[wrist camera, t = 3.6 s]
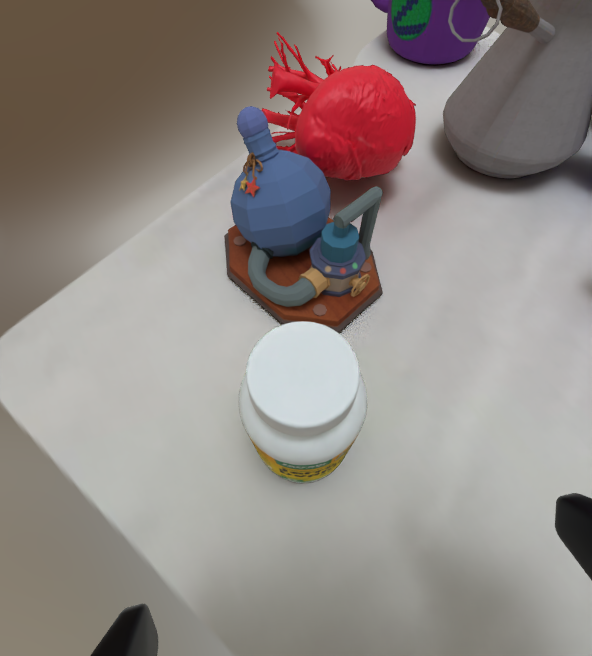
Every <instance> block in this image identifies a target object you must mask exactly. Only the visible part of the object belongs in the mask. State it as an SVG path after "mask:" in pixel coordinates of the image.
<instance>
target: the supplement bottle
mask: <svg viewBox="0 0 592 656" xmlns="http://www.w3.org/2000/svg"><path fill="white" fill-rule="evenodd" d="M239 411H240V416H241V420H242V423H243V425H244V427H245V430H246V432H247V433H248V435H249V437H250V439H251V441H252V442H253V444H254V446H255V448H256V450H257V452H258V454H259V455H260V457H261V459H262V460H263V462H264V463H265V464H266V466H267V467H268V468H269V469H270V470H271V471H272V472H274V473H275V474H277V475H278V476H280V477H282V478H284V479H286V480H289V481H292V482H297V483H309V482H314V481H317V480H320V479H322V478H324V477H326V476H328V475H329V474H330V473H332V472H333V471H334V470H335V469H336V468H337V467H338V466H339V464H340V463H341V462H342V460H343V459H344V457H345V455H346V454H347V452H348V450H349V449H350V447H351V446H352V444H353V443H354V441H355V439H356V437H357V435H358V434H359V432H360V430H361V428H362V426H363V423H364V420H365V416H366V411H367V392H366V387H365V383H364V380H363V377H362V375H361V373H360V368H359V362H358V359H357V356H356V354H355V352H354V350H353V349H352V347H351V345H350V344H349V343H348V342H347V340H346V339H345V338H344V337H343V336H341V335H340V334H339V333H338V332H336V331H335V330H333V329H331V328H329V327H327V326H325V325H322V324H318V323H314V322H305V321H301V322H292V323H287V324H284V325H281V326H278V327H276V328H274V329H272V330H271V331H269V332H268V333H267V334H265V335H264V336H263V337H262V338H261V339H260V340H259V341H258V342H257V344H256V345H255V347H254V348H253V350H252V352H251V354H250V356H249V359H248V362H247V367H246V373H245V375H244V377H243V380H242V383H241V387H240V392H239Z"/></svg>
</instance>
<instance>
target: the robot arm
mask: <svg viewBox="0 0 592 656" xmlns="http://www.w3.org/2000/svg"><path fill="white" fill-rule="evenodd" d="M555 528H556V531H557V534H558V535H559V537H560V539H561V540H562V541H563V543H564V544H565V545H566V547H567V548H568V549H569V551H570V552H571V553H572V555H573V556H574V557H575V559H576V560H577V561H578V563H579V564H580V565H581V567H582V568H583V569H584V571H585V572H586V573H587V575H588V576H589V577H590V579H591V580H592V499H591V498H588V497H586V496H583V495H581V494H577V493H572V494H568V495H564V496H560V497H559V498H558V499H557V501H556V515H555ZM157 653H158V634H157V630H156V627H155V624H154V622H153V619H152V616H151V613H150V611H149V608H148V606H147V605H146V604H139V605H135V606H131V607H128V608H126V609H124V610H123V611H122V612H121V613H120V615H119V616H118V618H117V619H116V621H115V622H114V623H113V625H112V626H111V627H110V629H109V630H108V632H107V633H106V635H105V636H104V637H103V639H102V640H101V642H100V643H99V644H98V646H97V647H96V649H95V650H94V651H93V653H92V654H91V656H157Z"/></svg>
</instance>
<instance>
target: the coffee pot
mask: <svg viewBox="0 0 592 656" xmlns="http://www.w3.org/2000/svg"><path fill="white" fill-rule="evenodd" d="M459 1H460V0H456V1H455V2H454V3H453V5H452V6H451V9H450V14H449V19H448V23H449V25H450V28H451V31H452V33H453V34H454V35H455V36H456V37H457V38H458V39H459V40H460V41H462V42H477V41H479V40H481V39H484V38H486V37H488V36H489V35H490V34H491V33H492V32H493V30H494V29H495V28H496V27H497V25H498V24H499V20H501V23H502V24H503V25H504V26H506V27H507V28H506V29H505V30H504V32H503V33H502V34H501V35H500V36H499V38H498V39H497V40H496V41H495V42H494V44H493V45H492V46H491V47H490V49H489V50H488V51H487V52H486V53H485V55H484V56H483V57H482V58H481V60H480V61H479V62H478V63H477V64H476V66H475V67H474V68H473V69H472V71H471V72H470V73H469V74H468V75H467V77H466V78H465V79H464V80H463V82H462V83H461V84H460V85H459V86H458V88H457V89H456V90H455V91H454V93H453V94H452V95H451V96H450V97H449V99H448V100H447V102H446V105H445V108H444V111H443V121H444V129H445V134H446V136H447V138H448V140H449V142H450V143H451V145H452V147H453V149H454V150H455V152H456V154H457V156H458V158H459V159H460V160H461V161H462V162H464V163H465V164H466V165H467V166H469V167H470V168H472V169H474V170H475V171H478V172H480V173H483V174H485V175H489V176H493V177H498V178H519V177H523V176H526V175H529V174H535V173H538V172H541V171H544V170H547V169H550V168H553V167H556V166H558V165H559V164H561V163H562V162H564V161H565V160H567V159H568V158H569V157H571V156H572V155H574V154H575V153H576V152H577V151H578V150H579V149H580V148H581V146H582V144H583V142H584V141H585V139H586V137H587V132H588V128H589V124H590V120H591V115H592V0H481V2H482V4H483V6H484V7H486V11H487V13H488V15H489V16H490V17H492V18H495V19H497V20H496V23H495V24H494V25H493V27H492V28H491V29H490V30H489V31H488V33H487V34H485V35H483V36H480V37H478V38H476V39H463V38H461V37H460V36H459V35H458V34H457V33H456V32H455V30H454V27H453V24H452V16H453V11H454V8H455V6H456V5H457V4H458V2H459Z"/></svg>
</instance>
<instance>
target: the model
mask: <svg viewBox="0 0 592 656" xmlns="http://www.w3.org/2000/svg"><path fill="white" fill-rule="evenodd" d="M237 125H238V130H239V132H240V134H241V135H242V136H243V137H244V138H243V140H244V144H245V145H246V146H247V149H248V151H249V155H248V158H247V162H246V163H245V165H244V167H243V172H242V173H241V175H240V176H239V177H238V179H237V180H236V182H235V186H234V190H233V194H232V198H231V207H232V213H233V220H234V223H235V224H236V225H235V226H233V227H232V228H230V229H229V230H228V233H227V234H226V235H225V247H226V260H227V275H228V277H229V278H231V279H232V280H233V281H234V282H235V283H236V284H237V285H238V286H240V287H241V288H242V289H243V290H244V291H245V292H246V293H248V294H249V295H250V296H251V297H252V298H253V299H254V300H255V301H257V302H258V303H259V304H260V305H261V306H262V307H264V308H265V309H266V310H267V311H268V312H269V313H270V314H272V315H273V316H274V317H275V318H276V319H277V320H278V321H280V322H281V323H282V324H283V325H284V324H287V323H292V322H301V321H305V322H314V323H318V324H322V325H325V326H327V327H329V328H331V329H333V330H335V331H336V332H338V333H340V332H341V331H342V330H343V329H344V328H345V327H346V326H347V325H348V324H349V323H350V322H351V321H352V320H353V319H354V318H355V317H357V316H358V315H359V314H360V313H361V312H362V311H363V310H364V309H366V308H367V307H368V306H369V305H370V304H371V303H373V302H374V301H375V300H376V299H377V298H378V297H380V296H381V295H382V293H383V292H382V288H381V284H380V280H379V276H378V272H377V268H376V264H375V260H374V256H373V252H372V251H371V250H370V241H371V237H372V233H373V229H374V225H375V221H376V217H377V213H378V209H379V205H380V201H381V197H382V193H383V192H382V190H381V188H379V187H377V186H376V187H373V188H371V189H369V190H368V191H367V192H366V193H364V194H363V195H362V196H360V197H359V198H358V199H356V200H355V201H354V202H352V203H351V204H350V205H348V206H347V207H345V208H344V209H343V210H341V211H340V212H339V213H338V214H336V215H335V216H334V218H333V219H334V221H333V220H332V219H330V218H329V217H328V216H329V213H330V191H331V190H330V188H329V185H328V183H327V181H326V178H325V176H324V173H323V172H322V171H321V170H320V169H319V168H318V167H317V166H316V165H315V164H314V163H313V162H312V161H311V160H310V159H309V158H307V157H304V156H301V155H298V154H296V153H293V152H290V151H285V150H278V149H277V147H276V143H275V142H273V139H272V136H271V134H270V130H269V129H268V121H267V118H266V116H265V114H264V113H263V112H262V111H261V110H259V109H258V108H256V107H252V106H250V107H246V108H244V109H243V110H242V111H241V112H240V114H239V115H238V118H237ZM249 162H250V163H249ZM246 164H247V165H246ZM245 166H246V168H245ZM361 214H363V217H362V222H361V227H360V232H359V234H358V230H357V228H356V227H355V226H353V225H352V224H350V222H352V221H353V220H355V219H356V218H357V217H359V216H360V215H361Z"/></svg>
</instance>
